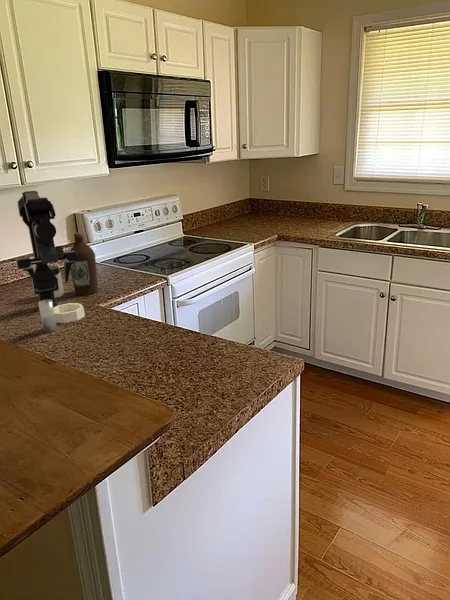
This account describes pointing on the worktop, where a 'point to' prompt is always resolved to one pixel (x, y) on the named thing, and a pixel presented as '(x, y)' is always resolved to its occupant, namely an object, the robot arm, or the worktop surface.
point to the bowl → (68, 312)
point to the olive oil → (84, 268)
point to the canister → (47, 315)
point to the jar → (60, 285)
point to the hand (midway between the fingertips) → (52, 285)
